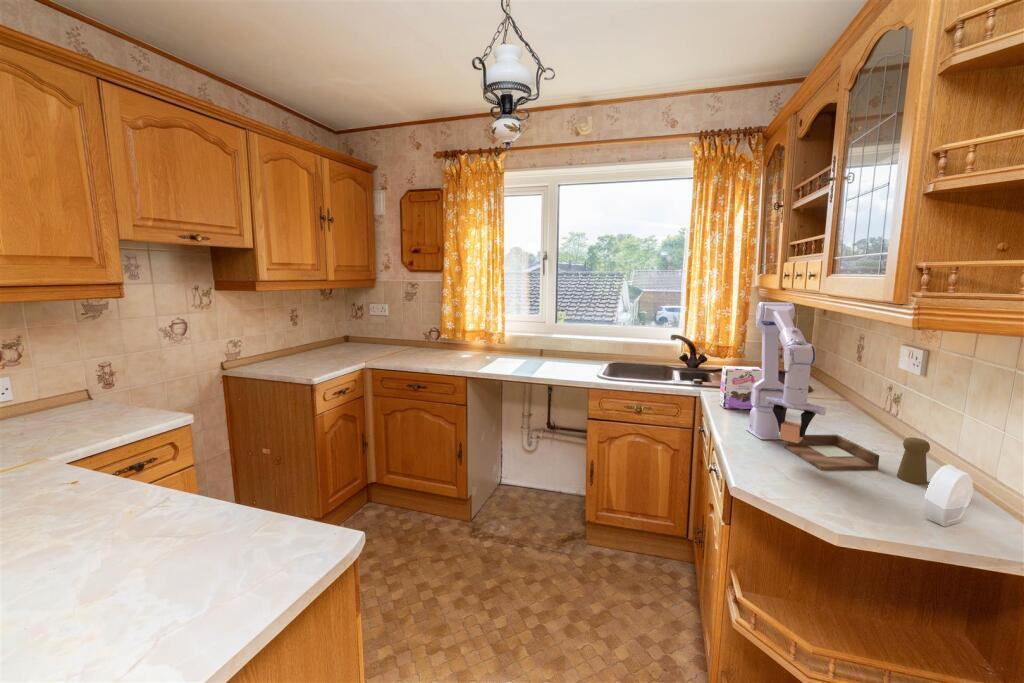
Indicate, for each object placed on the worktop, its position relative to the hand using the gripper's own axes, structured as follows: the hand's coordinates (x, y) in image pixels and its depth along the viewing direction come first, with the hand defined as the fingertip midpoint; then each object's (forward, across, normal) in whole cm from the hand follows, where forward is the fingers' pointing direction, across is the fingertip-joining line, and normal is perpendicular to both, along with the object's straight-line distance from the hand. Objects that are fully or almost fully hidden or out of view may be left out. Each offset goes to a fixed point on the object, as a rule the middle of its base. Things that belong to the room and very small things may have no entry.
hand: (791, 433), depth 127 cm
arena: (+8, +7, +12) cm, 16 cm away
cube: (+2, 0, 0) cm, 2 cm away
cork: (+9, +25, +11) cm, 29 cm away
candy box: (+9, -30, +44) cm, 54 cm away
